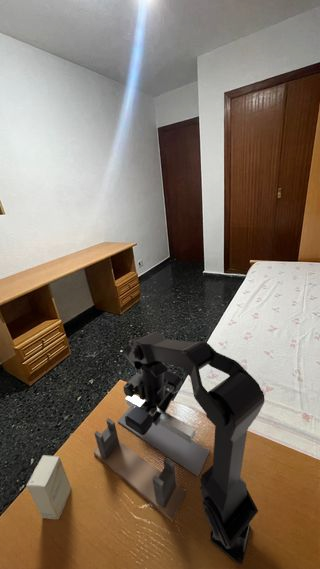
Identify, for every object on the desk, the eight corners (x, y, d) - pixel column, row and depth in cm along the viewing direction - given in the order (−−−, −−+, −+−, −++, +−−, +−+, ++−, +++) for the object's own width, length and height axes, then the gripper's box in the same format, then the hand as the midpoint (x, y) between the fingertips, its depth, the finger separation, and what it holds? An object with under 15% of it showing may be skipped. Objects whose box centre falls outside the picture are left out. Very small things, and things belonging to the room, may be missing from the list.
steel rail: (195, 435, 59) (194, 428, 58) (190, 443, 57) (190, 436, 56) (131, 398, 71) (130, 392, 70) (126, 404, 69) (125, 398, 68)
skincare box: (59, 520, 51) (44, 488, 47) (41, 518, 52) (24, 486, 47) (72, 486, 57) (60, 455, 52) (55, 485, 58) (42, 454, 53)
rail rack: (185, 493, 54) (184, 467, 50) (172, 521, 49) (169, 495, 46) (109, 435, 68) (104, 412, 65) (94, 453, 64) (87, 430, 60)
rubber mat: (209, 451, 62) (209, 450, 62) (198, 477, 57) (198, 475, 56) (132, 405, 77) (132, 404, 77) (117, 422, 72) (117, 420, 72)
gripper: (150, 348, 70) (155, 386, 76) (104, 390, 56) (114, 433, 62) (181, 360, 64) (184, 401, 70) (139, 411, 50) (146, 456, 56)
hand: (158, 420), depth 64 cm, fingers closed on steel rail, 2 cm apart
